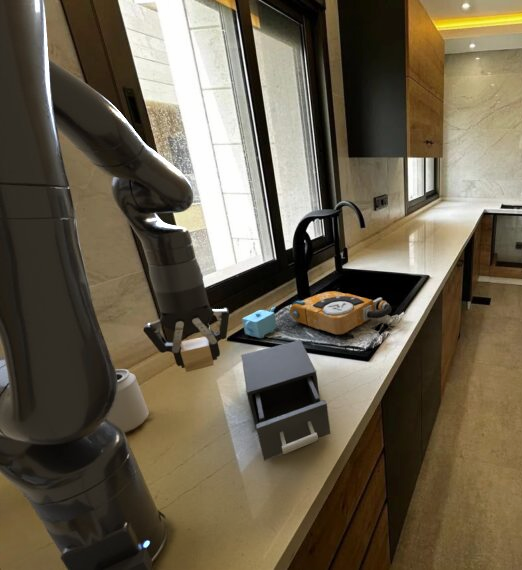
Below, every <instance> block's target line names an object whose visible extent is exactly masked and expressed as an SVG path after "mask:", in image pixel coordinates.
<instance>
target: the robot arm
mask: <svg viewBox="0 0 522 570" xmlns="http://www.w3.org/2000/svg"><path fill="white" fill-rule="evenodd" d="M46 20H47V19H46V7H45V0H0V345H1V350H2V353H3V355H1V356H0V475H1V476H2V477H3V478H4V479H5V480H7V482H9V483H11V484H12V485H13V486H15V488H17V489H18V490H20V491H21V493H22V494H23V495H24V497H25V499H26V500H27V501H28V503H29V504H30V505H31V507H32V509H33V510H34V513H36V515H37V517H38V519H39V520H40V522H41V523H42V525H43V527H44V529H45V530H46V531H47V533H48V534H49V536H50V537H51V539H52V541H53V543H54V544H55V546H56V547H57V549H58V550H59V552H60V553H61V554H60V560H61V561H62V563H63V564H64V567H65V568H66V569H67V570H152V568H153V564H154V562H156V560H157V559H158V557H159V556H160V555H161V553H162V551H163V550H164V548H165V547H166V543H167V540H168V528H167V526H166V523H165V522H164V521H163V519H164V520H167V518H166V515H165V514H164V513H163V512H161V511H160V510H159V509H158V507H157V505H156V503H155V500H154V498H153V495H152V494H151V491H150V490H149V486H148V484H147V482H146V480H145V477H144V475H143V473H142V469H141V468H140V466H139V464H138V461H137V458H136V456H135V453H134V452H133V450H132V447H131V445H130V442H129V440H128V437H127V436H126V433H124V432H123V430H122V429H121V428H120V427H118V426H117V425H115V424H114V423H112V422H111V421H109V420H108V419H106V418H107V417H108V416H109V414H110V412H111V410H112V409H113V406H114V404H115V401H116V398H117V391H118V381H117V375H116V371H115V370H116V368H115V365H114V362H113V359H112V356H111V354H110V352H109V348H108V345H107V342H106V340H105V337H104V334H103V332H102V331H103V330H102V329H101V325H100V323H99V320H98V318H97V314H96V311H95V307H94V304H93V298H92V294H91V289H90V284H89V279H88V273H87V270H86V269H87V268H86V265H85V261H84V256H83V251H82V248H81V243H80V237H79V236H80V235H79V229H78V221H77V215H76V211H75V210H76V209H75V206H74V200H73V196H72V191H71V187H70V181H69V179H68V175H67V170H66V167H65V162H64V159H63V154H62V148H61V143H60V137H59V133H60V135H62V137H64V138H65V139H66V140H67V141H68V142H69V143H70V144H71V145H72V146H73V147H74V148H75V149H76V150H77V151H78V152H79V153H81V155H83V157H84V158H85V159H87V160H88V162H89V163H91V164H92V165H93V166H94V167H95V168H96V169H97V170H99V171H100V172H102V173H103V174H105V175H107V176H110V177H112V178H111V181H110V192H111V195H112V198H113V201H114V202H115V204H116V206H117V208H118V209H119V210H120V211H121V213H122V215H123V216H124V217H125V219H126V220H127V222H128V223H129V225H130V226H131V228H132V230H133V231H134V233H135V234H136V236H137V237H138V239H139V240H140V242H141V245H142V250H143V252H144V256H145V259H146V263H147V266H148V272H149V273H148V274H149V279H150V282H151V285H152V288H153V292H154V295H155V298H156V302H157V305H158V307H159V311H160V318H159V319H156V320H155V321H147V322H145V323H144V325H143V326H144V327H143V332H144V334H145V335H146V336H147V337H148V339H149V340H150V341H151V343H152V344H153V345H154V346H155V348H156V349H157V350H158V351H159V352H160V353H162V354H164V353H166V352H167V353H172V355H173V357H174V361H175V364H176V366H178V367H181V369H185V366H184V363H183V359H182V356H181V353H180V352H181V344H182V339H183V336H184V337H185V336H187V335H190V334H197V333H201V334H202V337H206V338H207V340H208V341H209V346H210V350H211V354H212V358H213V360H214V361H216V360H218V357H220V356H221V351H220V345H219V341H221V340H225V339H227V335H228V328H229V327H228V326H229V318H230V312H229V308H228V307H223V308H220V309H219V308H218V309H217V308H216V309H215V308H213V306H212V305H210V303H209V298H208V293H207V291H206V287H205V282H204V276H203V272H202V270H201V267H200V264H199V262H198V260H197V256H196V253H195V248H194V244H193V240H192V237H191V233H190V232H189V230H188V229H187V228H185V227H183V226H180V225H174V224H169V223H166V222H164V221H163V220H162V219H161V218H160V217H159V216H158V214H177V213H184V212H185V211H187V210H189V208H191V206H192V204H193V202H194V192H193V188H192V185H191V184H190V182H189V180H188V178H186V177H185V175H184V174H183V173H182V172H181V171H180V170H179V169H178V168H177V167H176V166H174V164H172V163H170V162H169V161H168V160H167V159H166V158H164V157H163V156H162V155H160V154H159V153H157V152H156V151H155V150H154V149H153V148H151V147H149V146H148V145H147V144H146V143H145V142H144V141H143V139H142V138H141V137H140V135H139V134H138V133H137V132H136V131H135V129H134V128H133V126H132V125H131V124H130V123H129V122H128V120H127V119H126V118H125V117H124V115H123V114H122V113H121V112H120V111H119V109H117V107H116V106H115V105H113V104H112V102H110V101H109V100H108V99H107V98H106V97H104V96H103V95H102V94H101V93H100V92H98V91H97V90H95V89H94V88H93V87H92V86H90V85H89V84H88V83H86V82H84V80H82V79H81V78H79V77H77V76H76V75H75V74H73V73H72V72H70V71H69V70H67V69H65V67H63V66H61V65H60V64H58V63H56V62H55V61H54V60H53V59H51V58H50V57H49V51H48V35H47V21H46ZM213 316H215V317H216V320H217V321H219V328H218V329H219V330H218V331H217V332H215V331H214V330H213V329H212V326H211V325H210V324H209V323H210V321H211V320H212V318H213ZM161 326H163V327H165V328H166V329H167V330H170V331H171V332H173V340H172V342H168V341H167V339H166V338H165V337H164V335H163V334H162V333H161V331H162V327H161ZM162 518H163V519H162Z"/></svg>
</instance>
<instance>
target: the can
mask: <svg viewBox="0 0 522 570" xmlns="http://www.w3.org/2000/svg"><path fill="white" fill-rule="evenodd" d="M115 371H116V375H117V381H118V391H117V398H116V401H115V404H114V406H113V409H112V410H111V412H110V414H109V416H108V417H107V418H106V419H108V420H109V421H111V422H112V423H114V424H115V425H117V426H118V427H120V428H121V429H122V430H123V432H124V433H125V434H126V433H128V432H131V431H134V429H136V428H138V427H140V426H141V425H142V424H143V423H145V420H146V419H147V418H148V417H149V415H150V412H149V409H148V406H147V404H146V401H145V398H144V395H143V393H142V390H141V388H140V385H139V383H138V380H137V378H136V375H135V374H134V373H131V372H130V370H129V369H125V368H117V369H116V368H115Z"/></svg>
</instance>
